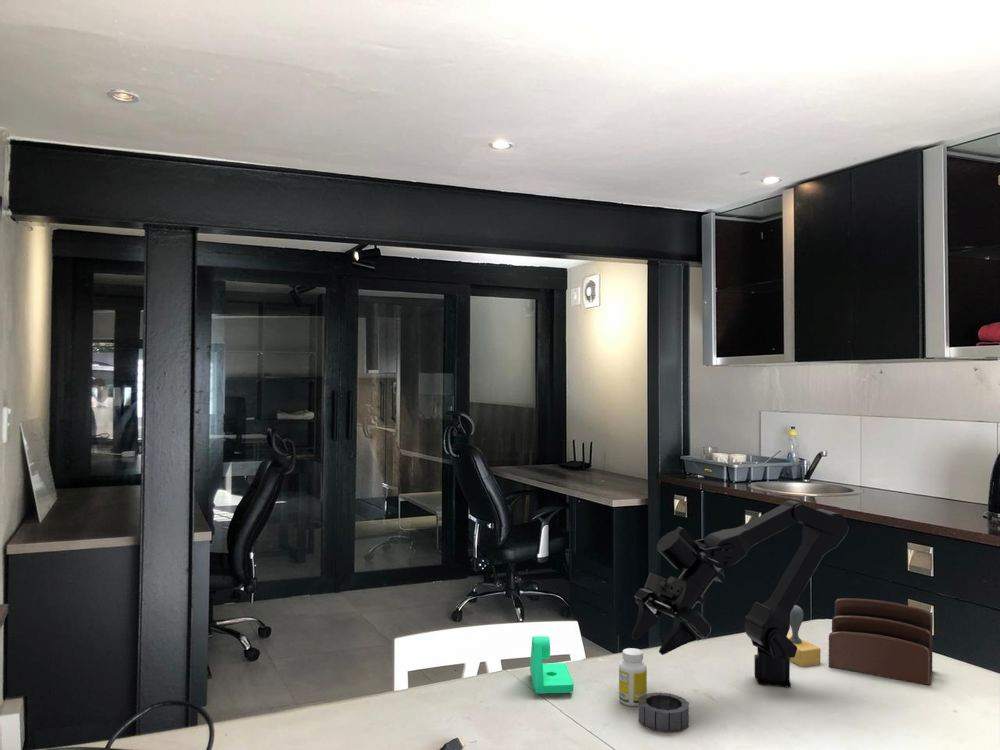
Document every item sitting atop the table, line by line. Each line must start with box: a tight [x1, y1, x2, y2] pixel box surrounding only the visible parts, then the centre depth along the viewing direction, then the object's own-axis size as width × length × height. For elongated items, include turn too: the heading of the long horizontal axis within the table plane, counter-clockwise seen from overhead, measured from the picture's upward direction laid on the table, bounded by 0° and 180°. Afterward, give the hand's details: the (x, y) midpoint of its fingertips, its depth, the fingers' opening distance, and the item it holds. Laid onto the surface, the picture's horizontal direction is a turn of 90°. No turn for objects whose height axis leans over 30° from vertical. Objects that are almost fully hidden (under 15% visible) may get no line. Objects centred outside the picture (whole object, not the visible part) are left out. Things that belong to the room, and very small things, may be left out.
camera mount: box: [529, 635, 574, 694], centre depth 161 cm, size 12×8×10 cm, turn 4°
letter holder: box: [827, 597, 934, 686], centre depth 171 cm, size 10×20×14 cm, turn 58°
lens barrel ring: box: [638, 692, 690, 734], centre depth 144 cm, size 9×9×4 cm
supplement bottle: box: [618, 647, 648, 707], centre depth 153 cm, size 5×5×10 cm
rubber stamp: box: [787, 604, 821, 668], centre depth 178 cm, size 10×6×12 cm, turn 19°
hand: (646, 645), depth 155 cm, fingers open, 9 cm apart
